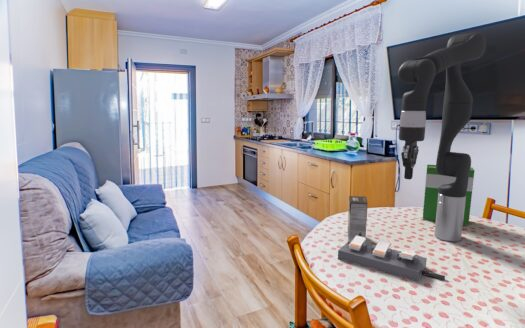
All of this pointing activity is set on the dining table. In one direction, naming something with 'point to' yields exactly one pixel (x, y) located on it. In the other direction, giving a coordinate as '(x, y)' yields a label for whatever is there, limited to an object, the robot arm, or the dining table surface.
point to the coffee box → (357, 216)
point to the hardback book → (432, 193)
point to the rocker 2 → (381, 248)
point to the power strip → (387, 262)
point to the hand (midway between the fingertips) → (408, 178)
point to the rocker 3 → (407, 255)
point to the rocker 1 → (357, 243)
